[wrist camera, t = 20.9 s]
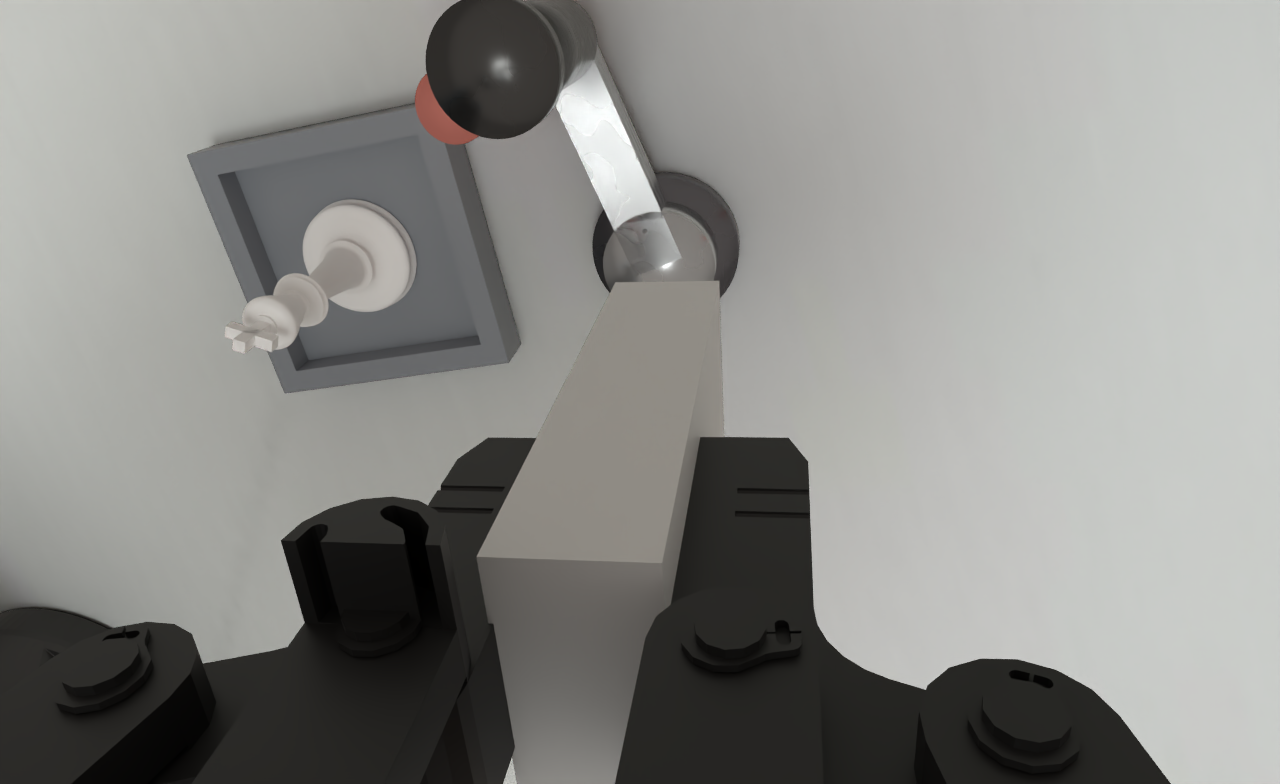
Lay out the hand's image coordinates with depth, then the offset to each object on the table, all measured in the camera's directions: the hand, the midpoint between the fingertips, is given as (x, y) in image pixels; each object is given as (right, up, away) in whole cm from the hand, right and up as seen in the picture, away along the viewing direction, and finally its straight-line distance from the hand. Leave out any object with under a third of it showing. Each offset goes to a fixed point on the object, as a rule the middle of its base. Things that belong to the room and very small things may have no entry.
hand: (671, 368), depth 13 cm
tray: (-12, +6, +27) cm, 30 cm away
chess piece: (-13, +6, +26) cm, 29 cm away
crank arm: (-1, +9, +22) cm, 24 cm away
